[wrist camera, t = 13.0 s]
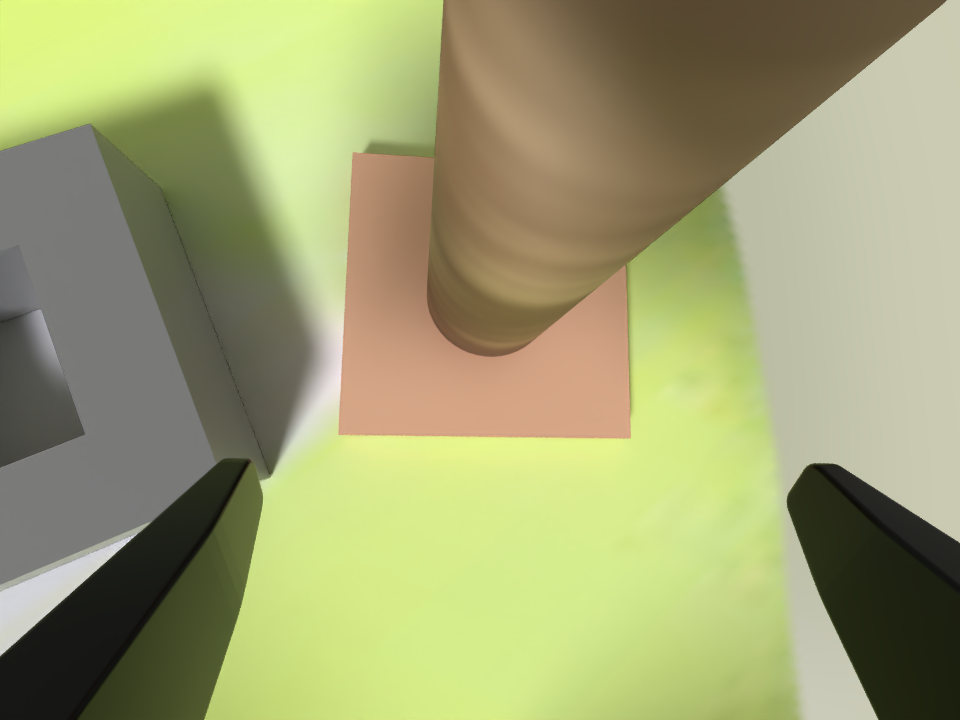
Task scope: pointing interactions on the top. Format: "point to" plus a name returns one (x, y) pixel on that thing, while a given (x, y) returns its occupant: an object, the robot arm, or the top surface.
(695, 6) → the plug
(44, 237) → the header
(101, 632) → the robot arm
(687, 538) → the top surface
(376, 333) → the tile
